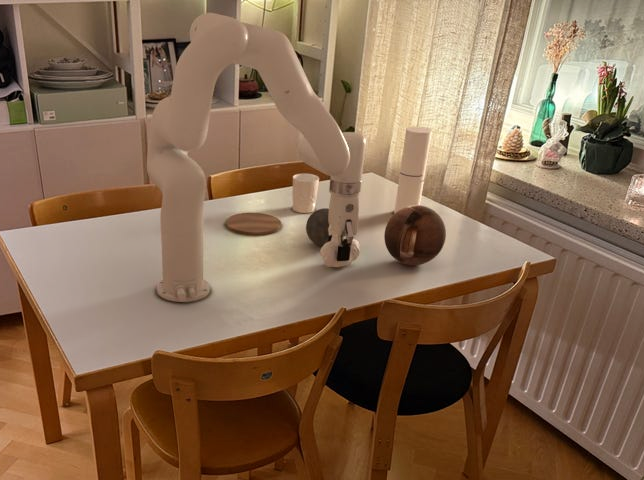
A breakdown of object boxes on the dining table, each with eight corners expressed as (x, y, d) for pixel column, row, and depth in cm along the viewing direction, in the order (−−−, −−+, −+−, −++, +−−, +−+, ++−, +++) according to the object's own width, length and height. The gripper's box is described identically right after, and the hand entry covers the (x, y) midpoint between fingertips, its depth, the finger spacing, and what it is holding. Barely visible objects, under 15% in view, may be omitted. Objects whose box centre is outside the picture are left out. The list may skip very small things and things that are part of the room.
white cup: (286, 206, 216) (288, 174, 211) (310, 204, 218) (312, 172, 213) (296, 215, 210) (298, 182, 204) (320, 212, 212) (323, 180, 206)
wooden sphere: (403, 247, 189) (411, 193, 181) (451, 264, 180) (462, 208, 172) (369, 261, 181) (376, 205, 173) (418, 280, 171) (428, 222, 163)
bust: (354, 265, 183) (341, 224, 183) (371, 257, 176) (357, 214, 176) (317, 274, 178) (304, 232, 178) (333, 266, 171) (319, 222, 171)
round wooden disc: (286, 234, 197) (286, 230, 196) (230, 237, 194) (230, 233, 194) (274, 214, 210) (274, 211, 209) (221, 217, 208) (221, 213, 207)
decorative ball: (348, 248, 188) (352, 212, 183) (317, 254, 184) (321, 218, 179) (327, 235, 196) (331, 201, 191) (297, 241, 192) (300, 206, 187)
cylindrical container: (389, 211, 213) (401, 128, 200) (408, 208, 216) (421, 125, 202) (403, 219, 207) (416, 133, 194) (423, 216, 210) (437, 131, 197)
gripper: (372, 197, 162) (363, 267, 171) (348, 174, 176) (341, 240, 186) (341, 198, 161) (334, 269, 170) (320, 176, 175) (314, 242, 185)
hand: (338, 254), depth 178 cm, fingers closed on bust, 7 cm apart
